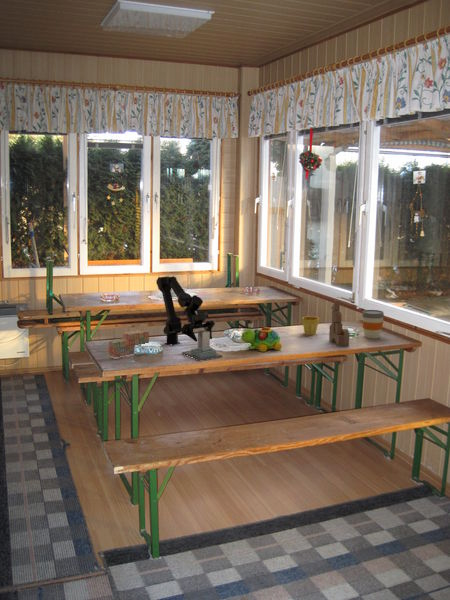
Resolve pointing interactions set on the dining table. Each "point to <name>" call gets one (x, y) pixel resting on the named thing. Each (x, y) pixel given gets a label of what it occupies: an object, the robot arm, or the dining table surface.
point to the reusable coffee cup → (372, 323)
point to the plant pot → (310, 324)
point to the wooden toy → (338, 327)
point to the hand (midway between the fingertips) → (204, 340)
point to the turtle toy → (262, 339)
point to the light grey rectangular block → (203, 341)
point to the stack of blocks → (128, 343)
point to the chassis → (202, 354)
